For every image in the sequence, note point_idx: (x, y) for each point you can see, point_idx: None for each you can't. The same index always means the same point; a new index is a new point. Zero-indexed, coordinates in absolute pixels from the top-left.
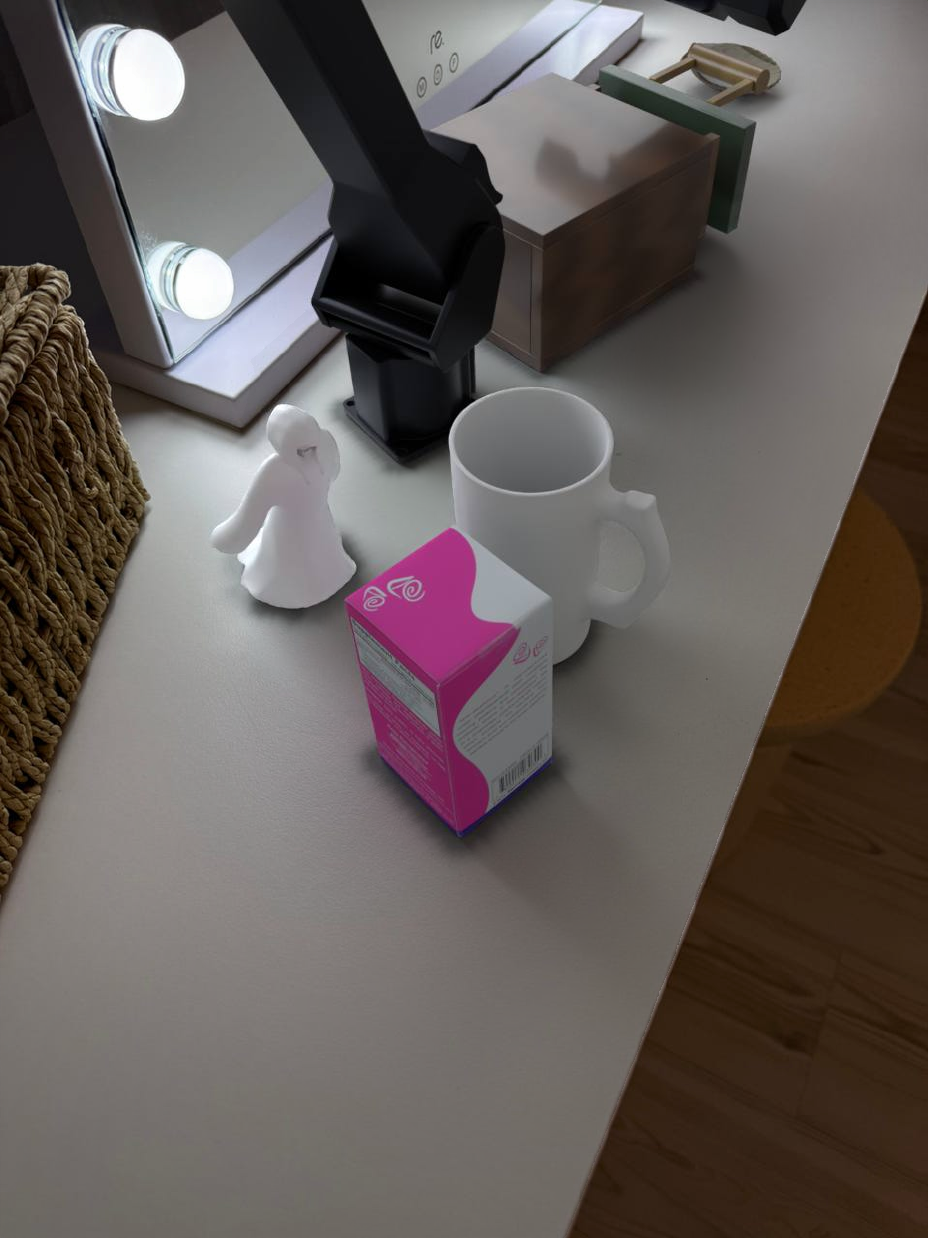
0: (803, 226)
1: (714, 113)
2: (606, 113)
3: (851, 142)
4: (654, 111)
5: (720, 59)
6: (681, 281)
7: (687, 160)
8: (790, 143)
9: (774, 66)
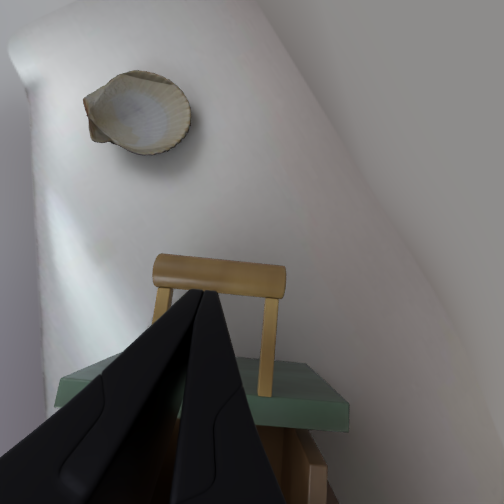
0: (334, 299)
1: (289, 423)
2: None
3: (289, 154)
4: None
5: (210, 283)
6: None
7: None
8: (249, 184)
9: (172, 87)
